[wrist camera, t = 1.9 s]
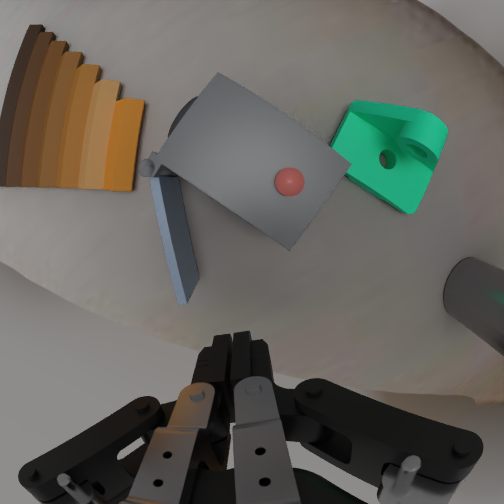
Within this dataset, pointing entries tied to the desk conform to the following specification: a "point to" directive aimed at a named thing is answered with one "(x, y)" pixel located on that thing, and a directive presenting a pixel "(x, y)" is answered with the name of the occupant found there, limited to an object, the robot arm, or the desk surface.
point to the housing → (250, 159)
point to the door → (175, 234)
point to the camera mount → (391, 150)
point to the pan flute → (65, 121)
